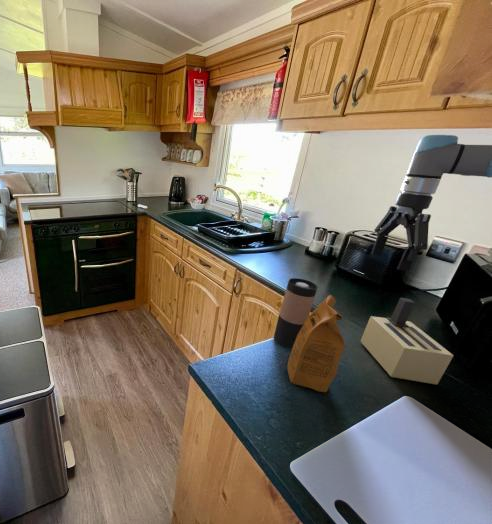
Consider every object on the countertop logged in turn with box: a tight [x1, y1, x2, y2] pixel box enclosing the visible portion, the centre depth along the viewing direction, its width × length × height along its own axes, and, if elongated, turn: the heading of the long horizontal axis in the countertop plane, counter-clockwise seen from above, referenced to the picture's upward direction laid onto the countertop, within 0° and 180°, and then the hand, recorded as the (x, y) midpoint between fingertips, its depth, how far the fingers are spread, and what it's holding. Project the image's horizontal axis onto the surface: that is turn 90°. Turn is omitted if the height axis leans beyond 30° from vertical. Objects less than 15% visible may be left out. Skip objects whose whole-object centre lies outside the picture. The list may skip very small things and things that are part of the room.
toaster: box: [359, 315, 454, 385], centre depth 82 cm, size 16×11×10 cm
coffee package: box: [286, 294, 346, 393], centre depth 72 cm, size 10×12×22 cm
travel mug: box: [273, 277, 319, 349], centre depth 86 cm, size 8×8×20 cm
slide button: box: [386, 297, 416, 328], centre depth 83 cm, size 4×4×8 cm
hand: (388, 262), depth 91 cm, fingers open, 13 cm apart
